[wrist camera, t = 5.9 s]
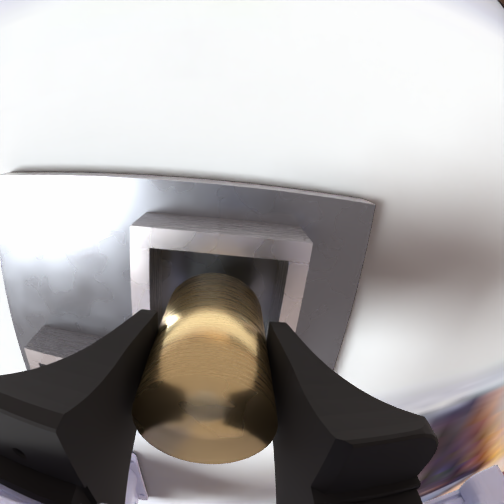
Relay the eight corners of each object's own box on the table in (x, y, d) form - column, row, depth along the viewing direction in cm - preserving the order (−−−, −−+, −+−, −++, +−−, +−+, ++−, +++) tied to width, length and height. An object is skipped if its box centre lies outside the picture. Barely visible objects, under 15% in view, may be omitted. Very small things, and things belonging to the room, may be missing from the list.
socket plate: (305, 421, 21) (315, 463, 17) (45, 387, 19) (25, 421, 15) (363, 199, 16) (399, 216, 12) (8, 172, 14) (-35, 183, 10)
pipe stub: (260, 353, 14) (272, 463, 8) (172, 352, 14) (147, 458, 8) (263, 273, 13) (283, 375, 7) (163, 272, 13) (117, 369, 7)
